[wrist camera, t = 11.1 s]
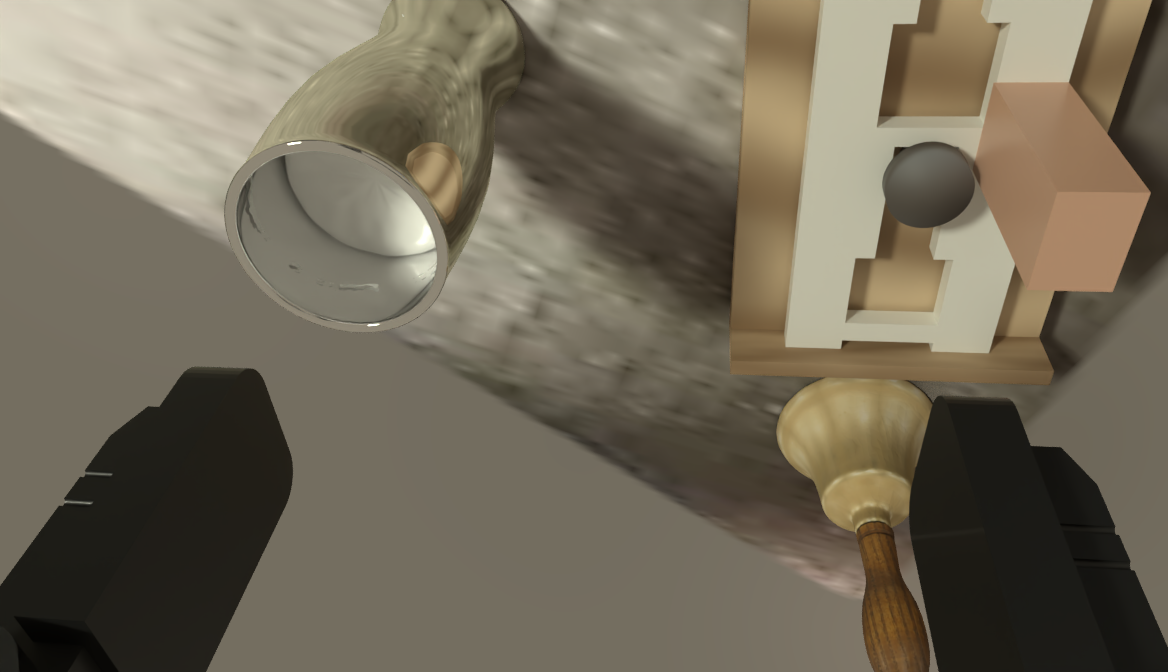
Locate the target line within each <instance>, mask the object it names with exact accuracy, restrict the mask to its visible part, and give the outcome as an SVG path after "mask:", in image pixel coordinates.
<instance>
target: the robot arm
mask: <svg viewBox="0 0 1168 672" xmlns="http://www.w3.org/2000/svg"><path fill="white" fill-rule="evenodd" d="M292 466H293V465H292V458H291V454H290V451H289V448H288V445H287V442H286V440H285V437H284V434H283V432H282V429H281V426H280V423H279V421H278V418H277V415H276V413H275V410H274V407H273V404H272V402H271V399H270V396H269V393H268V391H267V388H266V385H265V382H264V380H263V378H262V376H261V375H260V374H259V373H258V372H257V371H256V370H254V369H249V368H221V367H191V368H190V369H188V370H186V371H185V372H184V373H183V374H182V375H181V377H180V378H179V379H178V381H177V382H176V384H175V385H174V387H173V388H172V390H171V391H170V392H169V394H168V395H167V397H166V398H165V400H164V401H163V402H162V404H161V405H160V407H149V406H148V407H147V408H145V409H144V410H143V411H141V412H140V413H139V414H138V415H136V416H135V417H134V418H132V419H131V420H130V421H129V422H127V423H126V424H125V425H123V426H122V427H121V428H120V429H118V430H117V431H116V432H115V433H113V434H112V435H111V436H110V437H109V438H108V440H107V441H106V442H105V444H104V445H103V446H102V448H101V449H100V450H99V452H98V453H97V455H96V456H95V457H94V459H93V460H92V461H91V463H90V464H89V466H88V467H87V468H86V470H85V471H86V474H85V477H80V478H79V479H78V481H77V482H76V483H75V485H74V486H73V487H72V489H71V490H70V491H69V493H68V494H67V495H66V497H65V498H64V499H65V504H64V505H63V506H59V507H58V508H57V509H56V510H55V512H54V513H53V515H52V516H51V517H50V519H49V520H48V522H47V523H46V524H45V525H44V527H43V528H42V530H41V531H40V532H39V534H38V535H37V536H36V538H35V539H34V540H33V542H32V543H31V545H30V546H29V547H28V549H27V550H26V552H25V553H24V554H23V556H22V557H21V558H20V560H19V561H18V562H17V564H16V565H15V566H14V568H13V569H12V571H11V572H10V573H9V575H8V576H7V577H6V579H5V580H4V581H3V583H2V584H1V586H0V672H206V671H207V669H208V666H209V664H210V662H211V660H212V658H213V656H214V654H215V652H216V650H217V648H218V646H219V644H220V642H221V639H222V637H223V635H224V633H225V631H226V629H227V627H228V625H229V623H230V621H231V619H232V616H233V614H234V612H235V610H236V608H237V606H238V604H239V602H240V600H241V598H242V596H243V594H244V591H245V589H246V587H247V585H248V583H249V581H250V579H251V577H252V575H253V573H254V571H255V569H256V566H257V565H258V562H259V560H260V558H261V556H262V554H263V552H264V550H265V548H266V546H267V544H268V542H269V539H270V537H271V535H272V533H273V531H274V529H275V527H276V525H277V523H278V521H279V519H280V516H281V514H282V512H283V510H284V508H285V506H286V504H287V501H288V499H289V495H290V491H291V486H292V478H293V467H292ZM909 525H910V535H911V541H912V546H913V551H914V556H915V561H916V565H917V570H918V575H919V580H920V584H921V589H922V594H923V599H924V603H925V608H926V613H927V618H928V623H929V628H930V632H931V637H932V642H933V647H934V652H935V656H936V660H937V666H938V671H939V672H1168V647H1167V645H1166V642H1165V640H1164V638H1163V635H1162V633H1161V631H1160V628H1159V626H1158V624H1157V621H1156V620H1155V617H1154V615H1153V612H1152V610H1151V608H1150V605H1149V603H1148V601H1147V598H1146V596H1145V594H1144V592H1143V589H1142V587H1141V585H1140V582H1139V580H1138V578H1137V576H1136V573H1135V571H1133V570H1131V569H1130V559H1129V557H1128V555H1127V552H1126V550H1125V548H1124V545H1123V543H1122V541H1121V539H1120V536H1119V535H1116V534H1115V525H1114V523H1113V520H1112V518H1111V516H1110V513H1109V511H1108V509H1107V506H1106V504H1105V502H1104V499H1103V497H1102V495H1101V493H1100V490H1099V488H1098V486H1097V484H1096V483H1095V482H1094V481H1093V480H1092V479H1091V478H1090V477H1089V476H1088V475H1087V474H1086V473H1085V472H1084V471H1083V470H1082V469H1081V468H1080V466H1079V465H1078V464H1077V463H1076V462H1075V461H1074V460H1073V459H1072V458H1071V457H1070V456H1069V455H1068V454H1067V453H1066V452H1065V451H1064V450H1063V449H1062V448H1060V447H1040V446H1030V443H1029V440H1028V438H1027V435H1026V432H1025V430H1024V427H1023V424H1022V422H1021V419H1020V416H1019V414H1018V411H1017V409H1016V406H1015V405H1014V403H1013V402H1012V401H1011V400H1010V399H1008V398H990V397H963V396H938V397H937V398H936V399H935V400H934V402H933V405H932V408H931V412H930V415H929V419H928V423H927V427H926V431H925V435H924V439H923V443H922V447H921V451H920V454H919V458H918V462H917V466H916V470H915V474H914V478H913V482H912V486H911V492H910V501H909Z"/></svg>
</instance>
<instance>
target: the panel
mask: <svg viewBox="0 0 1168 672" xmlns="http://www.w3.org/2000/svg"><path fill="white" fill-rule="evenodd" d="M920 1H921V0H821V1H820V11H819V20H818V29H817V38H816V47H815V56H814V65H813V75H812V84H811V93H810V102H809V111H808V120H807V130H806V139H805V148H804V157H803V166H802V175H801V185H800V194H799V203H798V212H797V221H796V230H795V240H794V249H793V258H792V267H791V276H790V285H789V295H788V304H787V313H786V322H785V331H784V337H785V347H798V348H831V349H841V345H842V340H847V341H881V342H915V343H929V346H930V349H931V352H961V353H989V351H990V347H991V344H992V341H993V337H994V334H995V330H996V327H997V324H998V320H999V317H1000V314H1001V310H1002V307H1003V303H1004V300H1005V297H1006V293H1007V290H1008V286H1009V283H1010V280H1011V276H1012V273H1013V269H1014V266H1015V265H1016V267H1017V269H1018V271H1019V274H1020V276H1021V278H1022V280H1023V282H1024V285H1025V287H1026V289H1027V290H1047V291H1092V292H1113V290H1114V287H1115V285H1116V282H1117V279H1118V277H1119V274H1120V272H1121V269H1122V266H1123V264H1124V261H1125V259H1126V256H1127V253H1128V251H1129V248H1130V246H1131V243H1132V241H1133V238H1134V235H1135V233H1136V230H1137V228H1138V225H1139V222H1140V220H1141V217H1142V215H1143V212H1144V209H1145V207H1146V204H1147V202H1148V199H1149V196H1150V194H1151V192H1150V191H1149V189H1148V188H1147V187H1146V185H1145V184H1144V183H1143V181H1142V180H1141V179H1140V177H1139V176H1138V175H1137V173H1136V172H1135V171H1134V169H1133V168H1132V167H1131V165H1130V164H1129V163H1128V161H1127V160H1126V159H1125V157H1124V156H1123V155H1122V153H1121V152H1120V150H1119V149H1118V148H1117V146H1116V145H1115V144H1114V142H1113V141H1112V140H1111V138H1110V137H1109V136H1108V134H1107V133H1106V132H1105V130H1104V129H1103V128H1102V126H1101V125H1100V124H1099V122H1098V121H1097V120H1096V118H1095V117H1094V116H1093V114H1092V113H1091V111H1090V110H1089V109H1088V107H1087V106H1086V105H1085V103H1084V102H1083V101H1082V99H1081V98H1080V97H1079V95H1078V94H1077V93H1076V91H1075V90H1074V89H1073V87H1072V86H1071V85H1070V83H1069V80H1070V76H1071V73H1072V69H1073V66H1074V63H1075V59H1076V56H1077V52H1078V49H1079V46H1080V42H1081V39H1082V36H1083V32H1084V29H1085V25H1086V22H1087V19H1088V15H1089V12H1090V8H1091V5H1092V2H1093V0H984V1H983V5H982V10H981V14H982V16H983V17H984V19H985V20H986V22H987V23H1002V24H1001V28H1000V32H999V36H998V40H997V45H996V49H995V53H994V57H993V62H992V66H991V70H990V74H989V79H988V83H987V87H986V91H985V95H984V100H983V104H982V108H981V112H980V116H879V109H880V103H881V97H882V91H883V85H884V78H885V72H886V66H887V60H888V54H889V47H890V41H891V35H892V29H893V24H917V18H918V13H919V7H920ZM932 141H934V142H943V143H946V144H949V145H951V146H954V147H955V148H957V149H958V150H959V151H960V152H961V153H962V154H963V155H964V156H965V158H966V160H967V162H968V164H969V167H970V169H971V171H972V173H973V176H974V180H975V190H974V194H973V197H972V199H971V201H970V203H969V205H968V206H967V207H966V209H965V210H964V211H963V212H962V213H961V214H960V215H958V216H957V217H956V218H954V219H953V220H951V221H949V222H947V223H945V224H943V225H940V226H936V227H934V228H933V232H932V237H931V241H930V246H929V247H930V250H931V253H932V256H933V259H934V260H945V265H944V269H943V273H942V277H941V282H940V286H939V290H938V294H937V299H936V303H935V307H934V311H933V312H913V311H874V310H847V308H848V302H849V295H850V289H851V283H852V277H853V271H854V264H855V258H875V255H876V249H877V244H878V238H879V233H880V227H881V221H882V216H883V210H884V204H885V196H884V193H883V188H882V180H883V175H884V172H885V170H886V168H887V166H888V164H889V163H890V162H891V160H892V159H893V154H894V148H895V147H910V146H913V145H915V144H918V143H923V142H932Z"/></svg>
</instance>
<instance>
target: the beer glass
mask: <svg viewBox="0 0 1168 672" xmlns="http://www.w3.org/2000/svg"><path fill="white" fill-rule="evenodd" d="M524 65H525V48H524V42H523V37H522V34H521V31H520V28H519V25H518V23H517V21H516V19H515V17H514V16H513V14H512V13H511V11H510V10H509V8H508V7H507V6H506V5H505V3H504V2H503V1H502V0H392V1H391V2H390V4H389V5H388V7H387V9H386V11H385V13H384V15H383V18H382V20H381V24H380V28H379V31H378V35H376V36H375V37H373V38H371V39H370V40H368V41H366V42H364V43H362V44H360V45H358V46H356V47H355V48H353V49H351V50H349V51H348V52H346V53H344V54H342V55H340V56H339V57H337V58H336V59H334V60H333V61H332V62H330V63H329V64H327V65H326V66H325V67H323V68H322V69H320V70H319V71H318V72H316V73H315V74H314V75H312V76H311V77H310V78H309V79H308V80H307V81H306V82H305V83H304V84H303V85H302V86H301V87H300V88H299V89H298V90H297V91H296V92H295V93H294V94H293V95H292V96H291V97H290V98H289V100H288V101H287V102H286V103H285V105H284V106H283V107H282V109H281V110H280V111H279V112H278V114H277V115H276V116H275V118H274V119H273V120H272V121H271V123H270V124H269V126H268V127H267V129H266V130H265V132H264V133H263V135H262V136H261V138H260V139H259V141H258V143H257V144H256V146H255V147H254V149H253V151H252V152H251V154H250V156H249V157H248V159H247V160H246V162H245V163H244V164H243V165H242V166H241V167H240V169H239V170H238V171H237V173H236V174H235V176H234V177H233V179H232V181H231V183H230V186H229V188H228V191H227V195H226V200H225V207H224V218H225V227H226V231H227V236H228V239H229V242H230V245H231V247H232V250H233V252H234V254H235V256H236V258H237V260H238V261H239V263H240V265H241V266H242V268H243V269H244V271H245V272H246V273H247V275H248V276H249V277H250V279H251V280H252V281H253V282H254V283H255V284H256V285H257V286H258V287H259V288H260V289H261V290H262V291H263V292H264V293H265V294H266V295H267V296H268V297H270V298H271V299H272V300H273V301H275V302H276V303H277V304H279V305H280V306H282V307H283V308H285V309H286V310H288V311H289V312H291V313H293V314H295V315H297V316H298V317H300V318H302V319H305V320H307V321H309V322H312V323H314V324H317V325H320V326H323V327H326V328H330V329H334V330H339V331H345V332H355V333H372V332H381V331H386V330H391V329H394V328H397V327H400V326H403V325H405V324H407V323H409V322H411V321H413V320H415V319H416V318H418V317H419V316H421V315H422V314H423V313H424V312H425V311H427V310H428V309H429V308H430V306H431V305H432V304H433V303H434V302H435V300H436V299H437V298H438V296H439V294H440V292H441V290H442V288H443V286H444V283H445V280H446V279H447V277H448V275H449V273H450V272H451V270H452V268H453V267H454V265H455V263H456V261H457V260H458V258H459V256H460V254H461V252H462V250H463V249H464V247H465V245H466V243H467V241H468V239H469V237H470V235H471V232H472V230H473V228H474V226H475V224H476V221H477V219H478V217H479V214H480V211H481V208H482V205H483V202H484V199H485V196H486V193H487V190H488V186H489V181H490V175H491V168H492V162H493V154H494V137H495V116H496V111H497V110H498V109H499V108H501V107H502V106H503V105H504V104H505V103H506V102H507V101H508V100H509V99H510V97H511V96H512V95H513V93H514V92H515V90H516V89H517V87H518V85H519V83H520V81H521V78H522V75H523V71H524Z"/></svg>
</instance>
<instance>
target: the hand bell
mask: <svg viewBox="0 0 1168 672" xmlns="http://www.w3.org/2000/svg"><path fill="white" fill-rule="evenodd" d="M932 405H933V404H932V403H931V401H930V400H929V399H928V397H927V396H926V395H925V394H924V393H923V392H922V391H921V390H920V389H919V388H917V387H916V386H915V385H913V384H912V383H910V382H909V381H907V380H887V379H858V378H829V377H825V378H823V379H820V380H818V381H816V382H814V383H812V384H810V385H808V386H806V387H805V388H803V389H802V390H801V391H799V392H798V393H797V394H796V395H794V396H793V398H792V399H791V400H790V401H789V402H788V403H787V404H786V405H785V407H784V408H783V410H782V412H781V414H780V417H779V420H778V424H777V440H778V444H779V447H780V449H781V451H782V453H783V454H784V456H785V457H786V459H787V460H788V461H789V463H790V464H791V465H792V466H793V467H794V468H795V469H797V470H798V471H799V472H801V473H802V474H803V475H805V476H806V477H808V478H810V479H813V481H814V483H815V485H816V487H817V490H818V493H819V496H820V500H821V504H822V507H823V510H824V512H825V514H826V515H827V516H828V518H829V519H830V520H831V521H832V522H834V523H835V524H836V525H838V526H840V527H842V528H844V529H847V530H850V531H854V532H855V533H856V537H857V541H858V544H859V547H860V552H861V557H862V561H863V565H864V570H865V575H866V588H865V594H864V599H863V606H862V607H863V608H862V625H863V634H864V640H865V646H866V650H867V654H868V657H869V660H870V663H871V666H872V668H873V670H874V672H929V666H930V650H929V643H928V638H927V633H926V629H925V625H924V621H923V618H922V615H921V613H920V610H919V608H918V606H917V603H916V601H915V600H914V598H913V596H912V594H911V592H910V591H909V589H908V588H907V586H906V584H905V582H904V580H903V578H902V575H901V573H900V569H899V564H898V557H897V551H896V545H895V541H894V532H893V530H892V527H894V526H896V525H898V524H899V523H901V522H902V521H903V520H904V519H906V517H907V516H908V515H909V501H910V492H911V486H912V482H913V478H914V471H915V467H916V466H917V462H918V458H919V454H920V451H921V447H922V443H923V439H924V435H925V431H926V427H927V423H928V419H929V415H930V412H931V408H932Z"/></svg>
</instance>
